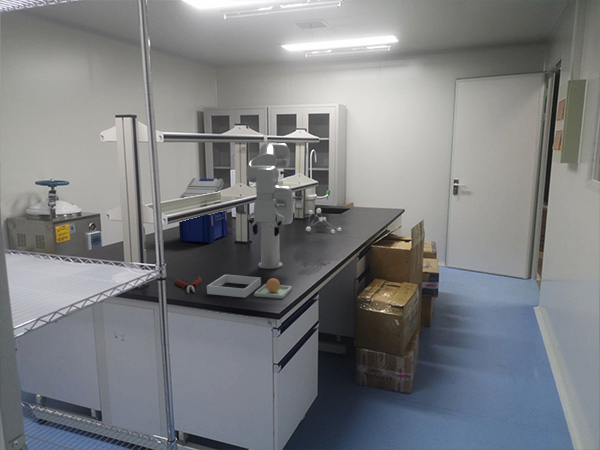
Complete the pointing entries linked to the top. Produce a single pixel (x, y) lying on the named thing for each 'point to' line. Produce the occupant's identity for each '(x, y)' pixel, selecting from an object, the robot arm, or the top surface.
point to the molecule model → (320, 220)
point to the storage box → (206, 225)
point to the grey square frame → (236, 292)
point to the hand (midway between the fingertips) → (265, 234)
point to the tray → (278, 294)
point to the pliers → (187, 286)
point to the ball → (273, 285)
